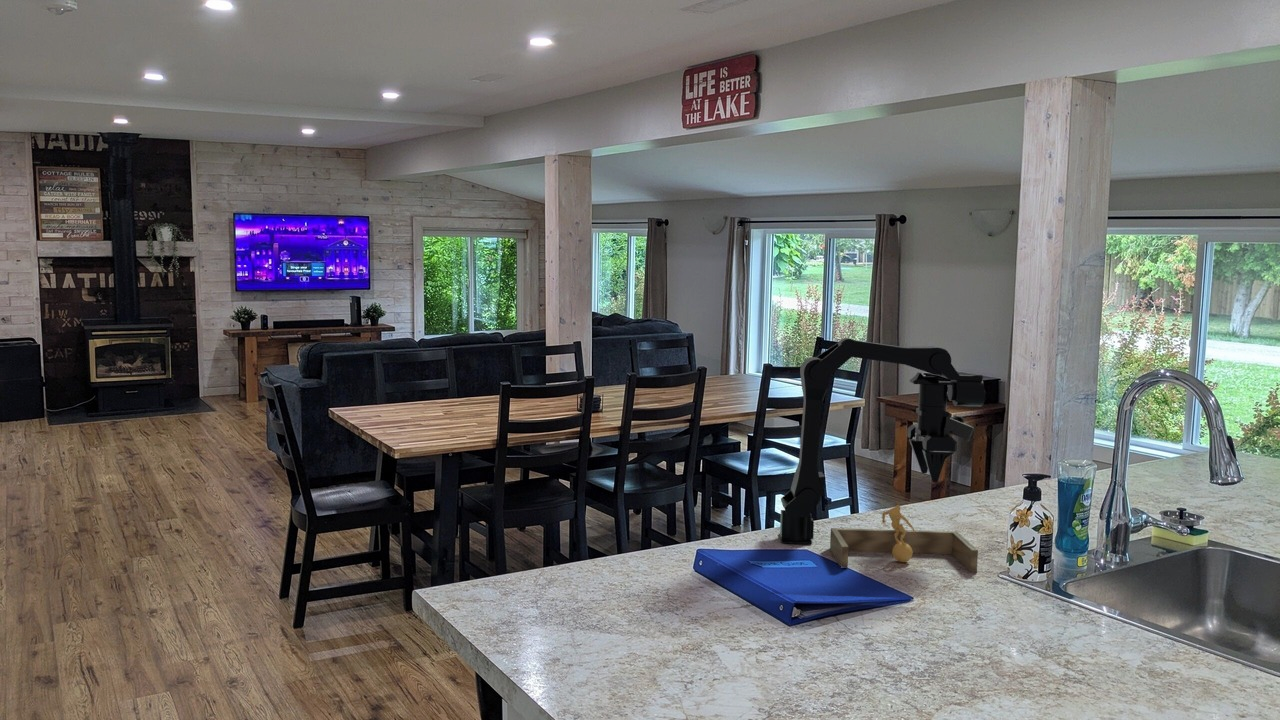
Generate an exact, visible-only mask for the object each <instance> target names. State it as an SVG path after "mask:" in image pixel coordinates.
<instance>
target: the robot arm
mask: <svg viewBox="0 0 1280 720" xmlns="http://www.w3.org/2000/svg"><path fill="white" fill-rule="evenodd" d="M851 358H855V359H863V360H871V361H877V362H884V363H891V364H898V365H904V366H908V367H911V368H915V369H917V370H919V371H923V372H926V373H928V374H931V375H930V376H929V375H927V376H925V375H923V373H921V372H919V371H918V372H916V374H915V376H913V377H911V379H909V382H910V383H911V384H913V385H919V388H918V389H919V391H918V407H916V408H915V413H916V414H917V415H918V416H917V424H910V426H908V428H907V429H906V430H907V431H906V432H907V433H906V434H907V435H906V436H907V438H909V439H908V442H909V444H910V447H911V449H912V451H913V454H914V456H915V458H916V461H917V465H918V466H919V469H920V472H921V473H922V474H927V473H929V476H930V479H931V482H932V483H937V482H939V479H940V476H941V473H942V470H943V467H944V464H945V461H946V459H947V458H949V457H950V456H952V455H954V454H955V452H957V451H958V442H957V441H956V439H955V438H954V437H952V436H951V435H953V436H955V437H958V438H960V439H962V440H964V441H965V442H970V440H971V438H972V435H973V432H974V430H975V427H973V426H972V425H969V424H968V423H965V422H964V418H963V417H962V416H958V415H957V414H954V415H953V416H952V417H951V413H950V412H949V410H947V409H948V408H947V406H948V404H947V403H948V402H947V401H948V400H949V402H952V404H953V405H954V406H955V407H983V406H984V404H985V403H986V402H985V401H986V395H987V393H986V390H985V389H986V388H985V382H984V381H983V377H984V376H983V375H982V374H980V373H979V374H977V373H974V374H959V373H958V371H957V370H956V368H955V367H954V366H953V364H952V356H951V354H950V353H949V351H948V350H947V349H945V348H942V347H939V346H935V345H916V346H900V345H899V346H897V345H891V344H885V343H876V342H870V341H863V340H856V339H853V338H849V337H844V338H841V339H840V340H839V341H838V342H837V343H836V344H834V345H832V346H831V347H829V348H828V349H826V350H825V351H823V352H821V353H820V354H819V355H817V356H812V357H811V356H810V357H808V358H806V359H804V361H802V363H801V364H800V368H799V370H800V371H799V373H800V383H801V389H802V396H803V397H802V398H803V404H802V405H803V406H802V418H801V430H800V431H801V433H800V443H799V444H800V445H799V447H800V448H799V457H798V458H799V459H798V464H797V467H796V469H795V472H794V475H793V477H792V478H793V479H792V482H791V486H790V487H791V488H790V490H789V491H787V492H786V493H785V494H784V495H783V496H782V497H781V498H780V501H781V504H782V507H783V509H781V510H780V521H779V522H780V523H779V525H780V527H779V528H780V531H779V533H778V537H779V540H780V543H781V544H800V545H801V544H802V545H811V544H813V540H814V531H815V529H814V526H815V525H814V524H815V522H814V518H812V511H813V508H815V507H817V506H818V505H819V504H820V502H821V499H822V496H823V497H825V496H826V495H825V491H824V486H825V482H826V476H825V474H824V473H823V472H822V471H819V468H818V463H819V450H820V439H821V438H820V437H821V428H822V427H821V424H822V413H823V412H822V410H823V401H824V399H825V397H826V393H827V391H828V387H829V384H830V380H831V377H832V376H831V375H832V374H833V373H834V372H836V371H837V370H838V369H840V368H841V367H842V366H843V365H844V364H845V363H847V362H848V360H851ZM933 375H935V376H933ZM936 375H937V376H938V375H939V377H942V378H945V379H947V380H940V379H939V378H938V377H937V376H936ZM949 380H950V381H949Z"/></svg>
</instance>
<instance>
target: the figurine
mask: <svg viewBox="0 0 1280 720" xmlns="http://www.w3.org/2000/svg"><path fill="white" fill-rule="evenodd" d="M881 515H882V516H881V517H882V524H884V525H885V524H886V523H887V521H886V520H885V519H886V517H885V516H886V515H888V517H889V519H890V521H891V523H890V525H891V527H892V530H895V531H896V533H895V534H894V536H895V540H896V542H897V544H896V545H895V546H894V547H893V549H892V552H891V554H892V557H893V558H894V559H895V561H897V562H898V563H907V562H909V561H910V560H911V559H912V557H913V554H914V553H913V552H912V549H911V547H910V546H909V545H908V544H906V543H904V541H903V540H902V539H903V538H904V536H905V535H906V533H907V531H906V530H907V529H906V528H905V527H904V525H903V524H902V523H900V521H901V519H902V520H903V521H904V522H906V524H907V525H908V526H909V527H910V528H911V530H913V531H914V533H915V528H914V526H913V525H912V524H911V523H910V522H909V520H908V519H907V518H906V517H905V516H904V515H903V514H902V513H901V506H900V505H899V504H897V505H895V506H894V507H893V508H890V509H889V510H887V511H884V512H882V514H881ZM899 530H900V531H901V532H902V533H903V534H902V535H901V536H900V540H901V542H900V541H899V540H898V539H897V536H898V533H899Z"/></svg>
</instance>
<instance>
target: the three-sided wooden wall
mask: <svg viewBox="0 0 1280 720" xmlns="http://www.w3.org/2000/svg"><path fill="white" fill-rule="evenodd" d="M905 530H906V531H907V533H906V535H905V536H904V538H903V539H902V540H903V541H904V543H906V544H908V545H909V546H910V547H911V549H912V552H913V553H912V554H939V555H940V554H941V555H942V554H944V555H947V554H948V555H952V556H953V557H955V559H957V561H959V562H960V564H961V565H962V566H963V567H964V568H965V569H966V570H968V571H969V573H971V574H973V573H974V574H975V573H978V562H979V561H978V559H979V556H978V555H979V549H978V548H976V547H975V546H974V545H973V544H971V543H970V541H968V540H967V539H966V538H965V537H964V536H963V535H961V533H959V532H958V531H957V530H956V531H954V530H952V531H949V530H917V529H916V530H915V529H914V530H915V533H914V531H913V529H911V530H909V529H905ZM895 533H896V531H895V530H894V529H880V528H879V529H878V528H877V529H876V528H874V529H872V528H866V529H865V528H845V527H844V528H842V527H841V528H837V527H831V528H830V537H829V538H830V542H829V543H830V544H829V545H830V547H829V550H830V551H831V553H832V555H833V557H834V558H835V561H836V562H837V563H838V565H839V567H840V566H842V567H845V568H848V567H849V566H848V565H849V564H848V563H849V552H870V553H871V552H872V553H876V552H877V553H892V549H893V547H894V546H895V545H896V544H897V542H896V540H895V536H894V534H895ZM902 534H903V533H902V532H901V531H900V530H899V533H898V536H897V539H898V540H899V541H900V542H901V540H900V536H901V535H902ZM848 569H849V568H848Z"/></svg>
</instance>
